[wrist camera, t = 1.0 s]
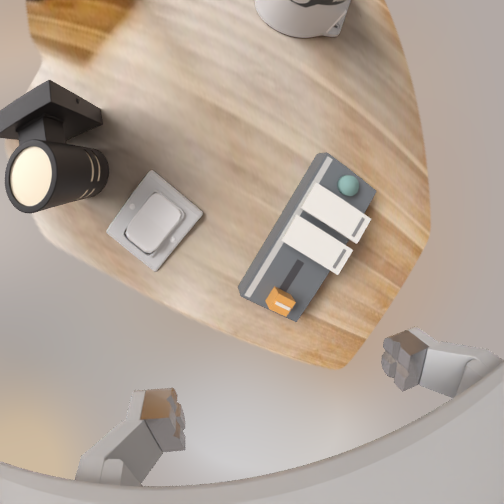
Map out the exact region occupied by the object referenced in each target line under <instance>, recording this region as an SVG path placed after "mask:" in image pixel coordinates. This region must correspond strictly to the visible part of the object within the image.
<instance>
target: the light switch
mask: <svg viewBox="0 0 504 504" xmlns="http://www.w3.org/2000/svg"><path fill="white" fill-rule="evenodd" d="M202 215H203V211H201V210H200V209H199V208H198V207H197V206H195V205H194V204H193V203H192V202H191V201H189V200H188V199H187V198H186V197H185V196H183V195H182V194H181V193H180V192H179V191H177V190H176V189H175V188H174V187H173V186H171V185H170V184H169V183H168V182H167V181H165V180H164V179H163V178H162V177H161V176H159V175H158V174H157V173H156V172H155V171H153V170H150V171H149V172H148V173H147V175H146V176H145V177H144V178H143V180H142V181H141V182H140V184H139V185H138V186H137V188H136V189H135V190H134V192H133V193H132V194H131V196H130V197H129V199H128V200H127V201H126V203H125V204H124V206H123V207H122V208H121V210H120V211H119V213H118V214H117V216H116V217H115V218H114V220H113V221H112V223H111V224H110V226H109V227H108V229H107V233H108V234H109V235H110V236H111V237H112V238H114V239H115V240H116V241H117V242H118V243H120V244H121V245H122V246H123V247H124V248H126V249H127V250H128V251H129V252H131V253H132V254H133V255H134V256H136V257H137V258H138V259H139V260H141V261H142V262H143V263H144V264H146V265H147V266H148V267H150V268H151V269H152V270H153V271H157V270H158V269H159V268H160V266H161V265H162V264H163V263H164V261H165V260H166V259H167V258H168V256H169V255H170V254H171V253H172V251H173V250H174V249H175V248H176V246H177V245H178V244H179V243H180V242H181V240H182V239H183V238H184V237H185V235H186V234H187V233H188V232H189V231H190V229H191V228H192V227H193V226H194V225H195V223H196V222H197V221H198V220H199V219H200V218H201V216H202ZM126 229H127V230H126ZM125 230H126V235H127V237H128V238H127V237H126V235H125ZM130 240H131V241H130ZM145 252H146V253H145ZM152 252H154V253H152ZM147 253H152V254H147Z"/></svg>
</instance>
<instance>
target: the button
mask: <svg viewBox="0 0 504 504" xmlns="http://www.w3.org/2000/svg"><path fill="white" fill-rule="evenodd" d="M337 188H338V190H339V192H340V193H341V194H343V195H347V196H353V195H355V194H356V193H357V192H358V189H359V182H358V180H357V179H356V178H355V177H354V176H351V175H344V176H342V177H340V178H339V180H338V183H337Z"/></svg>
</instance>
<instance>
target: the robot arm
mask: <svg viewBox="0 0 504 504" xmlns="http://www.w3.org/2000/svg"><path fill="white" fill-rule="evenodd" d="M350 2H351V0H255V7H256V10H257V12H258V14H259V16H260V17H261V18H262V19H263V21H264V22H265V23H267V24H268V25H269V26H270V27H272V28H273V29H275V30H277V31H279V32H281V33H283V34H286V35H289V36H293V37H300V38H309V37H315V36H320V35H323V36H329V37H337V36H338V35H339V33H340V31H341V28H342V25H343V22H344V19H345V16H346V13H347V10H348V7H349V5H350ZM334 26H335V27H336V28H335V27H334ZM383 347H384V349H385V352H384V354H383V355H382V361H381V363H382V367H383V370H384V372H385V373H386V374H387V376H389V377H392V378H394V383H395V384H396V385H397V386H398V387H399V388H400V389H401V390H402V391H405V390H407V389H410V388H412V387H414V386H416V385H418V384H419V385H420V386H423V387H425V388H428V389H430V390H433V391H436V392H438V393H441V394H444V395H446V396H449V397H452V398H453V399H451V400H449V401H448V402H446V403H445V404H443V405H442V406H440V407H438V408H436V409H435V410H433V411H431V412H429V413H428V414H426V415H424V416H423V417H421V418H419V419H417V420H415V421H413V422H411V423H409V424H407V425H406V426H404V427H402V428H400V429H398V430H395V431H393V432H391V433H389V434H387V435H385V436H383V437H380V438H378V439H376V440H374V441H371V442H369V443H367V444H364V445H362V446H359V447H357V448H354V449H352V450H349V451H346V452H344V453H341V454H338V455H335V456H332V457H329V458H326V459H323V460H320V461H317V462H313V463H310V464H307V465H303V466H300V467H296V468H292V469H288V470H284V471H280V472H276V473H272V474H267V475H262V476H257V477H252V478H247V479H240V480H234V481H227V482H219V483H210V484H200V485H187V486H162V487H161V486H151V487H149V486H142V485H141V483H142V481H143V480H144V479H145V477H146V476H147V475H148V473H149V472H150V471H151V469H152V468H153V466H154V465H155V464H156V462H157V461H158V459H159V458H160V457H161V455H162V454H163V453H162V452H171V451H181V450H185V435H184V433H183V430H184V429H185V418H184V413H183V410H182V407H181V405H180V404H179V403H178V402H177V394H176V392H175V390H174V388H165V389H151V390H138V391H134V392H133V393H132V396H131V400H130V404H129V408H128V412H127V417H126V421H121V422H120V423H119V424H118V425H117V426H116V427H114V428H113V429H112V430H111V431H110V432H109V433H107V434H106V435H105V436H104V437H103V438H102V439H101V440H99V441H98V442H97V443H96V444H95V445H94V446H92V447H91V448H90V449H89V450H88V451H87V452H85V453H84V454H83V455H82V456H81V459H80V463H79V466H78V470H77V473H76V477H75V480H71V479H65V478H60V477H55V476H50V475H46V474H41V473H37V472H33V471H30V470H26V469H22V468H19V467H16V466H12V465H10V464H7V463H4V462H0V504H504V360H502V359H501V358H499V357H498V356H497V355H495V354H494V353H492V352H491V351H489V350H488V349H484V348H477V347H471V346H465V345H459V344H453V343H448V342H440V343H439V342H437V341H436V340H435V339H433V338H432V337H431V336H429V335H428V334H426V333H425V332H424V331H422V330H421V329H420V328H418V327H415V326H414V327H412V328H410V329H407V330H405V331H403V332H401V333H398V334H395V335H393V336H390V337H387V338H385V340H384V344H383Z"/></svg>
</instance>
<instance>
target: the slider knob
mask: <svg viewBox="0 0 504 504" xmlns="http://www.w3.org/2000/svg"><path fill="white" fill-rule="evenodd" d="M265 301H266V303H267V306H268V308H269V309H270V310H272V311H274V312H277V313H279V314H281V315H283V316H285V317H287V315H288V314H289V312H290V311H291V309H292V308H293V306H294V305H295V303H296V302H295V300H294V299H293V297H292V296H291V294H289V293H287V292H285V291H283V290H281V289H279V288H277V287H275V286H274V288H273V289H272V291H271V292H270V294H269V296H268V297H267V299H266V300H265Z"/></svg>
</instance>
